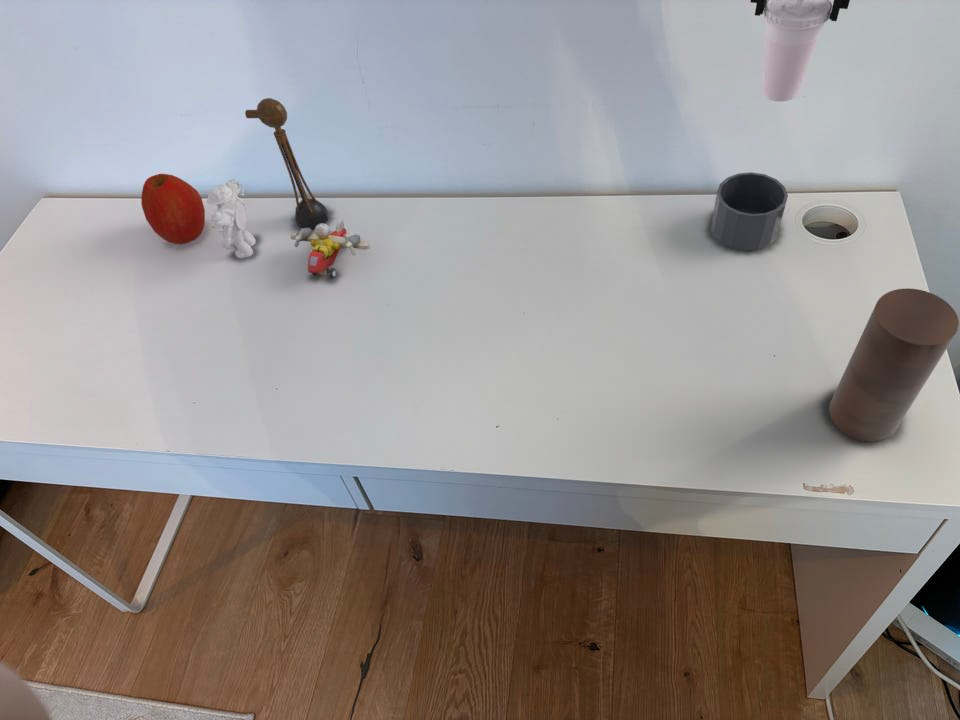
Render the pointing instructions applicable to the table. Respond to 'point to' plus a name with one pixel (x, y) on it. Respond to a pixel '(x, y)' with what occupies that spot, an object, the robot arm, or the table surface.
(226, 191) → the hat wearing toy figure
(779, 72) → the smoothie
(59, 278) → the table surface
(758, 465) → the table surface
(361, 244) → the toy airplane
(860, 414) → the stand
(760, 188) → the grey cup holder
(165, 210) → the red oval fruit
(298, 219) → the wooden tabletop sculpture
